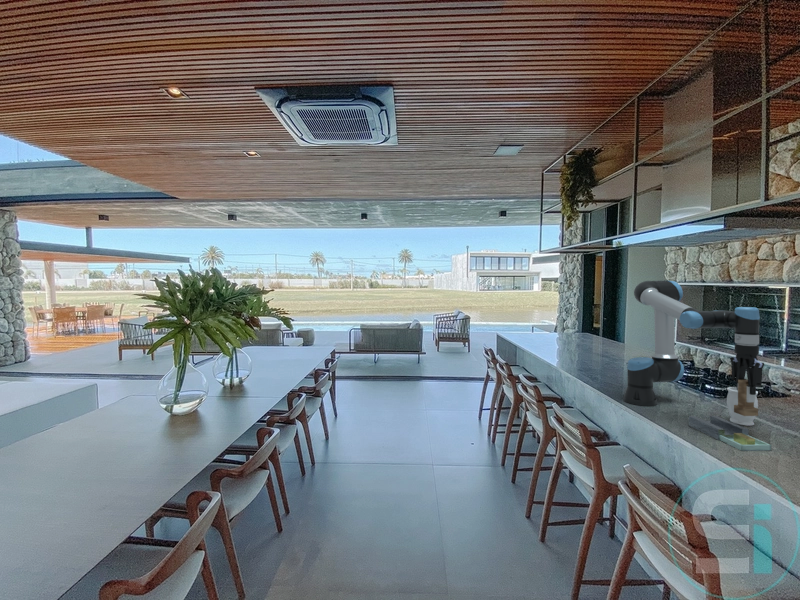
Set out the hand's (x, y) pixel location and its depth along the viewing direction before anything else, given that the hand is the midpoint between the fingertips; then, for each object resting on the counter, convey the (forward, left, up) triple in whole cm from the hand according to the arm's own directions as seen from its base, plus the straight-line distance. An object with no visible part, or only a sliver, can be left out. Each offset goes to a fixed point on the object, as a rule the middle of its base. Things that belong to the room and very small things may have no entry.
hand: (745, 400), depth 159 cm
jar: (-13, +10, -14) cm, 22 cm away
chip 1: (+9, -10, -14) cm, 19 cm away
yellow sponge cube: (+11, -10, -12) cm, 19 cm away
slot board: (-2, -10, -14) cm, 17 cm away
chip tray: (+11, -10, -14) cm, 20 cm away
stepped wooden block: (0, 0, -6) cm, 6 cm away
